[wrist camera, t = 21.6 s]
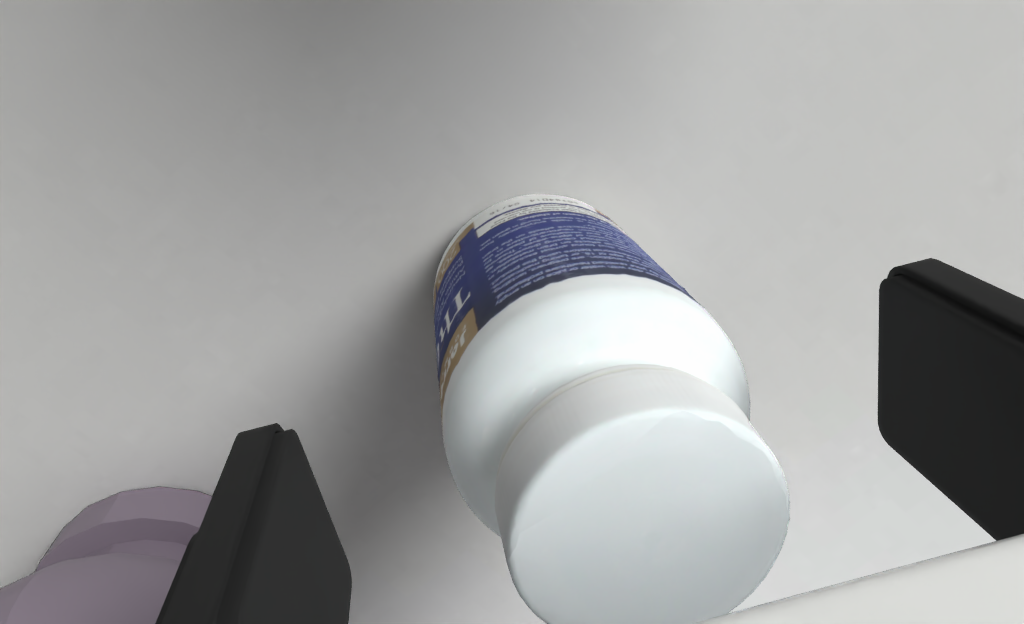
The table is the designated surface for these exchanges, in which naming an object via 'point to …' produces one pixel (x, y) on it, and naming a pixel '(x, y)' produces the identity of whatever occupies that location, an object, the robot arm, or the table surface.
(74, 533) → the mauve rounded figurine
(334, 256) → the table surface
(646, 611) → the pill bottle
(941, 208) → the table surface
